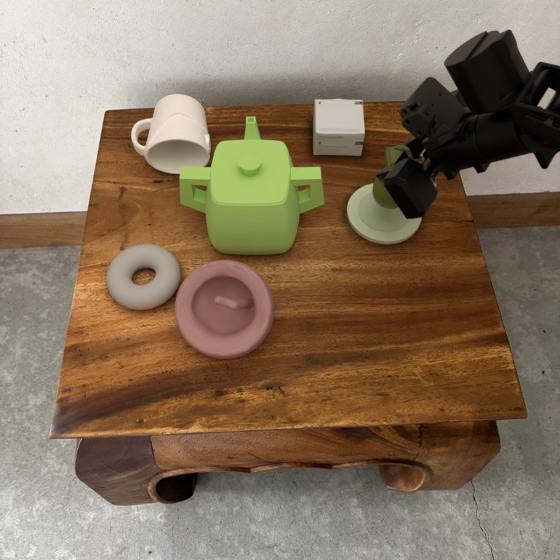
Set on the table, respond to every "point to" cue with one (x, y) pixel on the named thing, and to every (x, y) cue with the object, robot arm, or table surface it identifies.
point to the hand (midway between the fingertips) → (386, 165)
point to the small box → (338, 127)
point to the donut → (150, 292)
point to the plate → (378, 219)
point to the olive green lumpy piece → (378, 187)
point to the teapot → (251, 194)
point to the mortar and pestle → (224, 309)
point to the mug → (175, 135)
